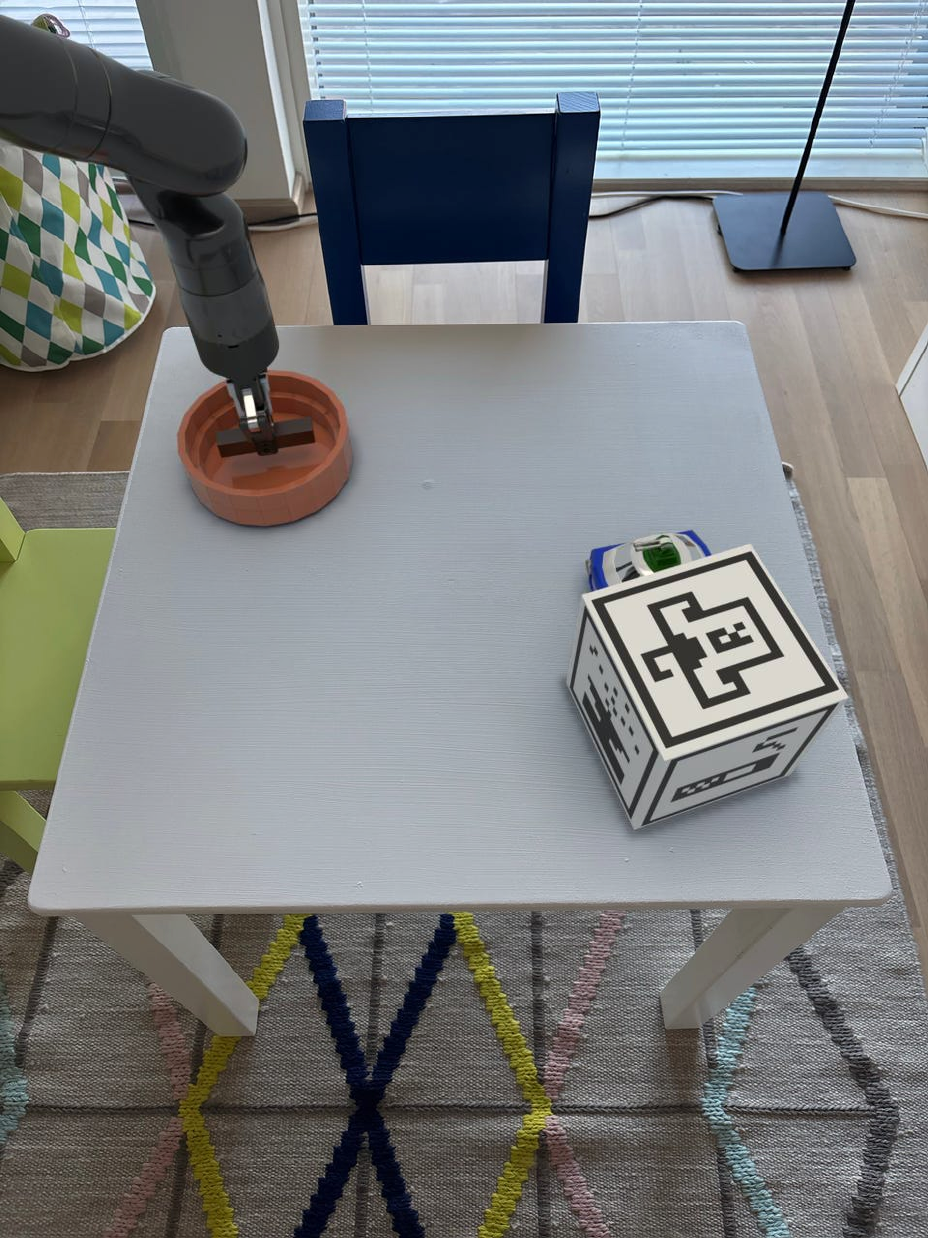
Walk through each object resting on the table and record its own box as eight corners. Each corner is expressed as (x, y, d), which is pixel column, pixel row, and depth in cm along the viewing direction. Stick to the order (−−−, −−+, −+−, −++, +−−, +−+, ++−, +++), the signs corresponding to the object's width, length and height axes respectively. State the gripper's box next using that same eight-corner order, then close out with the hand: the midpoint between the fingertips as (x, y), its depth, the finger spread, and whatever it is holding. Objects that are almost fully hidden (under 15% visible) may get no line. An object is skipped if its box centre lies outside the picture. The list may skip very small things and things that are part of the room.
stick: (315, 442, 97) (312, 429, 95) (221, 458, 96) (216, 445, 95) (313, 429, 98) (310, 416, 96) (220, 444, 97) (215, 431, 96)
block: (790, 774, 80) (848, 697, 67) (634, 830, 78) (664, 760, 65) (710, 636, 88) (750, 543, 75) (566, 683, 85) (581, 595, 73)
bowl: (195, 541, 95) (180, 508, 90) (188, 419, 104) (174, 383, 99) (363, 513, 96) (357, 479, 92) (342, 395, 105) (335, 359, 101)
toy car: (577, 571, 92) (586, 512, 84) (690, 548, 93) (710, 488, 85) (605, 649, 87) (618, 594, 79) (724, 623, 88) (748, 568, 80)
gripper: (184, 269, 86) (227, 403, 100) (190, 371, 79) (236, 499, 93) (264, 257, 86) (295, 392, 101) (277, 358, 79) (309, 487, 94)
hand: (267, 443), depth 97 cm, fingers closed on stick, 2 cm apart
